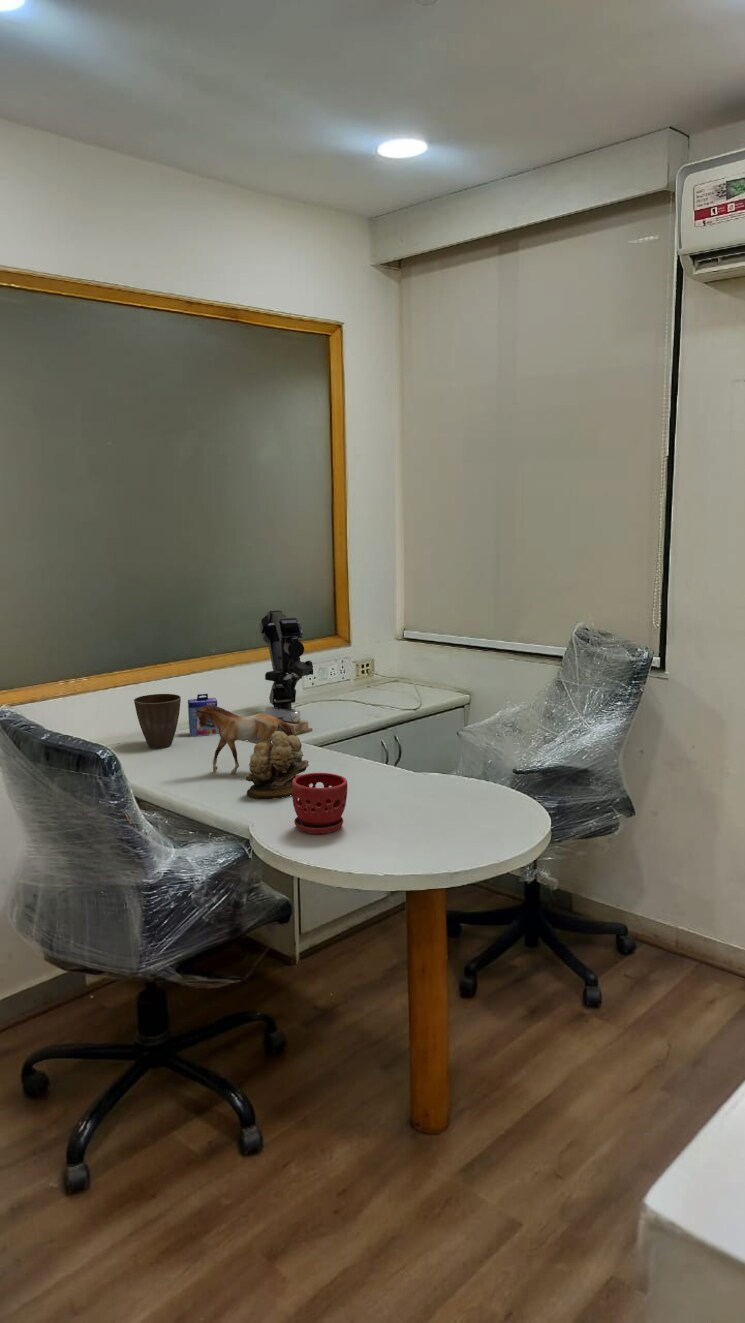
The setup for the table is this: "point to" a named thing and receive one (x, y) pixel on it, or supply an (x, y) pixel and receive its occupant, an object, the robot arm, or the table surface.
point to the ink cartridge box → (196, 703)
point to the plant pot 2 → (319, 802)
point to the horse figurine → (239, 728)
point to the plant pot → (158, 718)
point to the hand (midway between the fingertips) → (290, 697)
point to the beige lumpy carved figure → (275, 767)
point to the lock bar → (283, 714)
